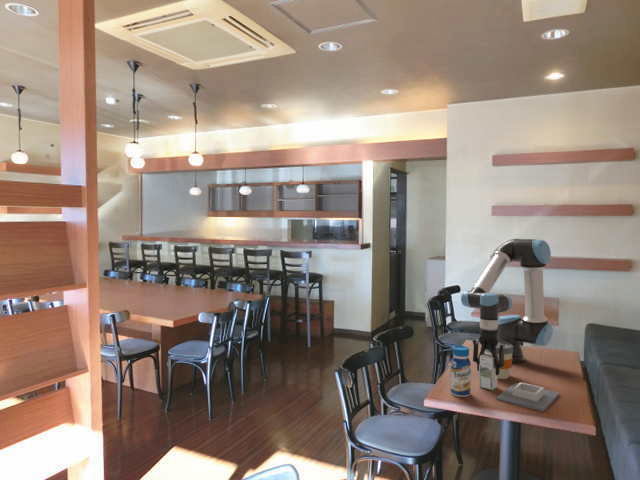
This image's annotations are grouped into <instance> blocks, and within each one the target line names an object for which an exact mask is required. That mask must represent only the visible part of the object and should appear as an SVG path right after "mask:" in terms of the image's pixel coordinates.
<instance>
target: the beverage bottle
mask: <svg viewBox="0 0 640 480" xmlns="http://www.w3.org/2000/svg"><path fill="white" fill-rule="evenodd" d="M452 355H453V356H452V358H451V360H450V365H451V366H450V367H449V368H450V369H449V370H450V394H452V395H453V396H456V397H459V398H466V397H469V396H470V395H471V375H472V369H471V366H472V364H471V361H470V359H469V356H470V348H469V347H467V346H465V345H454V346H453V347H452Z"/></svg>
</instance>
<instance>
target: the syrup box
mask: <svg viewBox="0 0 640 480" xmlns="http://www.w3.org/2000/svg"><path fill="white" fill-rule="evenodd" d="M494 367H495V364H494V358H493V357H492V354H487V353H486V352H485V353H484V354H483V355H480V379H479V388H481V389H485V390H489V391H493V390H494V389H496V388H497V382H498V381H497V382H495V383H494V382H493V368H494Z"/></svg>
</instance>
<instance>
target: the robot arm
mask: <svg viewBox="0 0 640 480" xmlns="http://www.w3.org/2000/svg"><path fill="white" fill-rule="evenodd" d="M551 257H552V256H551V249H550V246H549V244H548V242H547V241H546V240H543V239H537V238H536V239H535V238H512V239H508V240H507V241H505V242H503V243H501V244H500V245H499V246H498V247H496V249H495V250H494V251H493V252H492V254H491V260H490V261H489V263H488V264H487V266H486V267H485V269H483V271H482V273H481V274H480V275H479V278H478V279H477V280H476V282H475V284H474V285H473V287H472V288H471V290H465V291H463V292H462V293H461V296H460V302H461V304H462V306H464V307H466V308H472V309H478V310H479V327H480V328H479V338H475V339H473V340H472V345H473V351H472V354H473V355H472V361H473V362H474V363H475V364H476V369H477V371H478V379H479V380H480V355H483V354H484V353H486V349H489V350H490V351H491V353H492V357H493V358H494V364H495V367H494V368H493V382H494V383H495V382H498V379H497V375H499V374H500V367H503V366H504V347H505V344H501V343H499V342H506V343H509V344H511V345H513V353H512V357H513V360H512V364H514V363H522V362H524V360H525V355H524V352H523V349H522V345H521V343H525V344H526V343H527V344H530V345H535V346H540V347H545V346H547V345H548V344H549V343H550V341H551V339H552V336H553V332H554V331H553V329H554V327H553V325H552V324H551V323H548V317H546V316H545V305H544V304H545V302H544V300H545V298H544V269H545V268H546V267H547V264H549V262H550V261H551ZM512 262H517V263H518V262H519V263H520V264H519V265H520V267H521V269H523V279H524V283H523V284H524V309H525V310H524V312H525V314H524V316H523V317H522V316H521V315H519V314H506V315H500V316H499V313H503V312H504V313H505V312H507V311H510V309H511V308H512V306H513V300H512V298H511V297H510V296H509V295H507V294H501V293H500V294H497V293H494V292H491V290H492V289H493V287H494V286H495V284H496V282H497V281H498V279H499V278H500V276H501V274H502V273H503V272H504V270H505V268H506V267H508V266H510V264H511V263H512ZM480 345H481V347H480V352H479V346H480ZM497 345H498V348H499V360H498V356H497V352H496V346H497Z"/></svg>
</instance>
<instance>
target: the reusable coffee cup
mask: <svg viewBox="0 0 640 480" xmlns="http://www.w3.org/2000/svg"><path fill="white" fill-rule="evenodd" d="M499 343H501V344H505V347H504V366H503V367H500V374H499V375H497V380H506V379H509V378H510V373H511V369H512V365H513V363H512V360H513V357H512V353H513V345H511V344H509V343H506V342H499ZM496 352H497V356H498V360H499V348H498V345H497V346H496ZM485 353H487V354H492V353H491V351H490V350H489V349H486V350H485Z"/></svg>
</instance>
